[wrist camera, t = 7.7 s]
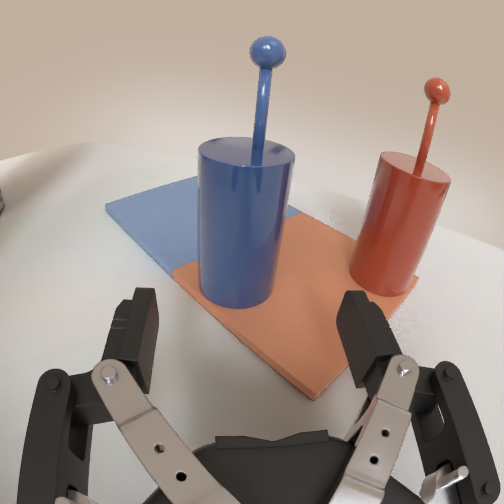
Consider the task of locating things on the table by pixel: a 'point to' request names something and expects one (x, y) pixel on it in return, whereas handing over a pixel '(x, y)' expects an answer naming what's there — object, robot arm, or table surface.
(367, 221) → the terracotta spoon holder
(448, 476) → the robot arm
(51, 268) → the table surface
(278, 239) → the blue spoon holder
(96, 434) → the table surface
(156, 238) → the sorting board
